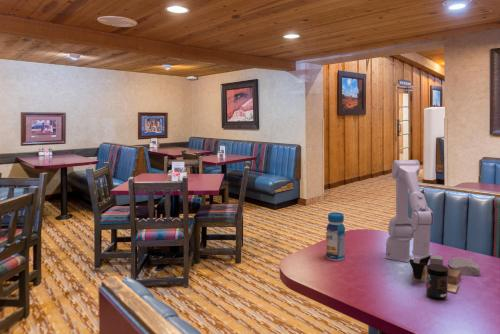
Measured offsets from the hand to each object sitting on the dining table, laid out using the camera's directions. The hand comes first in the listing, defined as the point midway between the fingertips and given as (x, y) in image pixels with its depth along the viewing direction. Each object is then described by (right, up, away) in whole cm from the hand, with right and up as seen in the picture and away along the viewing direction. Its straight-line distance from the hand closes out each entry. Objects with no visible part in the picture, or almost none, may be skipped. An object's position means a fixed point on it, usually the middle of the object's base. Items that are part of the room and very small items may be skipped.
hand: (420, 275), depth 147 cm
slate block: (+11, 0, +10) cm, 14 cm away
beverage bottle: (-27, +1, +24) cm, 36 cm away
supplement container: (-1, -4, -14) cm, 15 cm away
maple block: (0, -2, 0) cm, 2 cm away
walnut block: (+10, -2, -1) cm, 10 cm away
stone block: (+21, -1, +8) cm, 22 cm away
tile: (+6, -2, -8) cm, 11 cm away
